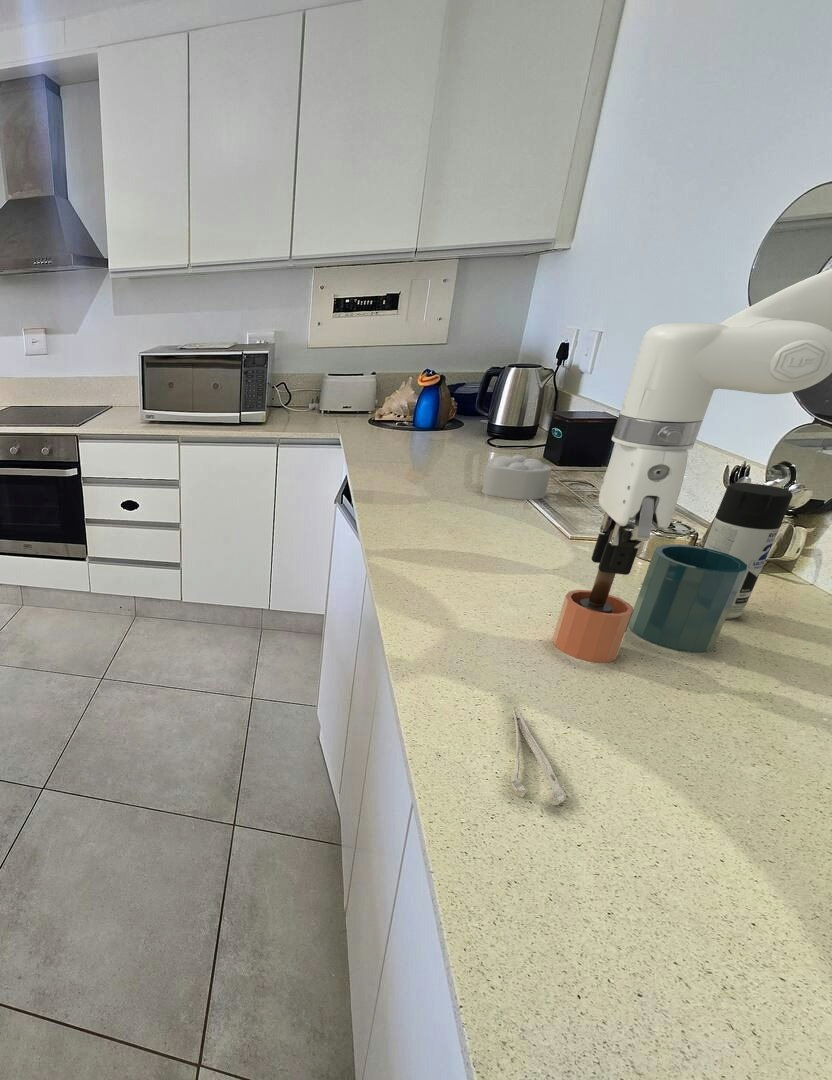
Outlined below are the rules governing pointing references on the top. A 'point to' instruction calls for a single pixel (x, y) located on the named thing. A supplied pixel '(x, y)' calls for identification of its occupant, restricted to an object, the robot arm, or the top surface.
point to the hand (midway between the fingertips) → (609, 566)
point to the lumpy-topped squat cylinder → (516, 478)
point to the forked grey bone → (558, 791)
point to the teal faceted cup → (686, 597)
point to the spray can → (748, 530)
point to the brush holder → (591, 628)
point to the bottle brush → (600, 590)
